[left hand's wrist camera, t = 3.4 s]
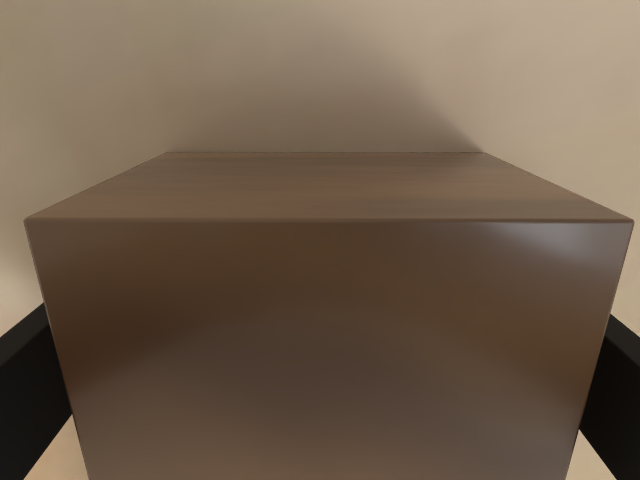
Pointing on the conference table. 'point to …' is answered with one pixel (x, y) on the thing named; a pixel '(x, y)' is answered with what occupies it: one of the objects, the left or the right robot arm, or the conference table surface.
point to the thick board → (327, 316)
